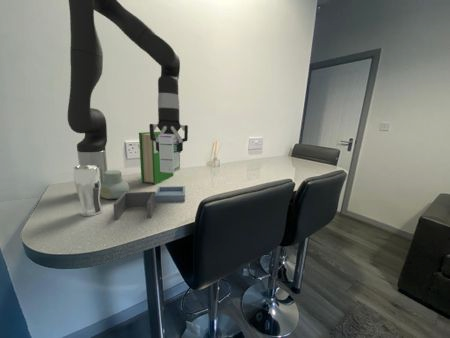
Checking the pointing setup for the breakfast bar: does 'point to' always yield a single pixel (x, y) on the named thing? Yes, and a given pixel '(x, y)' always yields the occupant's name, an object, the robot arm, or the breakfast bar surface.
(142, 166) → the hardback book
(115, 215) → the dock
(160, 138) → the syrup box
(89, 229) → the breakfast bar surface
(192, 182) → the breakfast bar surface
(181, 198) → the tray
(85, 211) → the beer glass
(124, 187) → the air freshener
